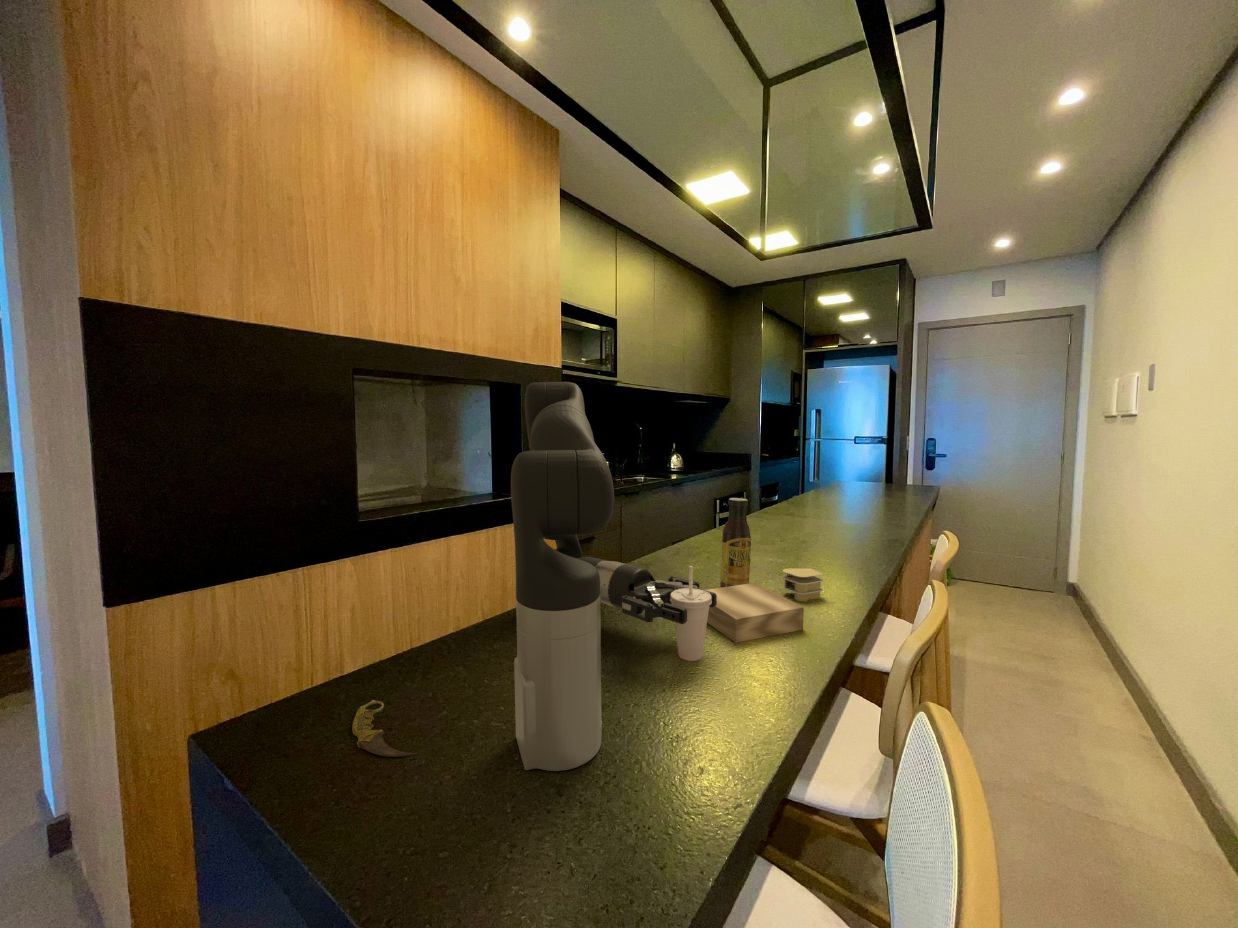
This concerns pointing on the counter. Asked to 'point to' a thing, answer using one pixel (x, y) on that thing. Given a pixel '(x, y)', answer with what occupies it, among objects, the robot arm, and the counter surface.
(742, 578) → the sauce bottle
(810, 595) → the stacked layers on plate
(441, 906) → the counter surface
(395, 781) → the counter surface
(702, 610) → the smoothie
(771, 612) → the riser
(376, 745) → the knife
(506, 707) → the counter surface
